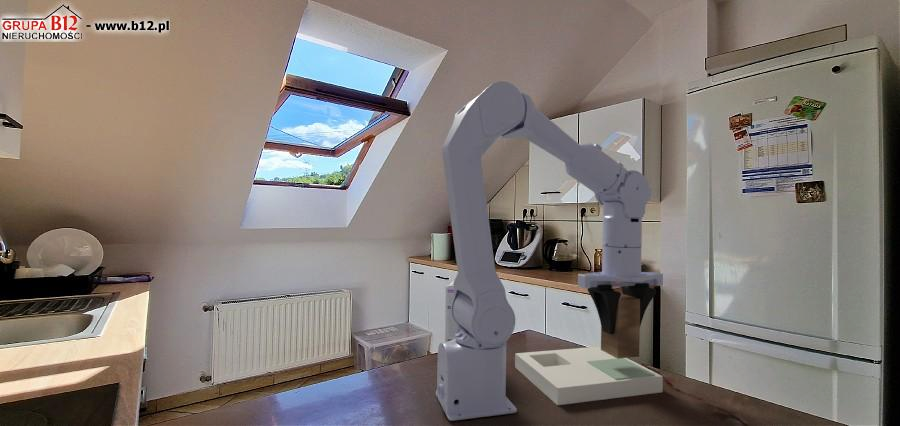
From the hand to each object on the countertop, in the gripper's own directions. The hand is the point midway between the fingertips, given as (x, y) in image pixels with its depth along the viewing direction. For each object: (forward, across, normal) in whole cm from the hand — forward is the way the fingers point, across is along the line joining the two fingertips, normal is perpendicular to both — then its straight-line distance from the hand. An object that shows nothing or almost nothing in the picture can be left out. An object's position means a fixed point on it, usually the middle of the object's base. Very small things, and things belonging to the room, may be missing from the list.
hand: (620, 331), depth 62 cm
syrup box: (+8, -22, +13) cm, 27 cm away
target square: (+6, 0, 0) cm, 6 cm away
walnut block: (+3, 0, 0) cm, 4 cm away
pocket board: (+8, -4, +3) cm, 10 cm away
